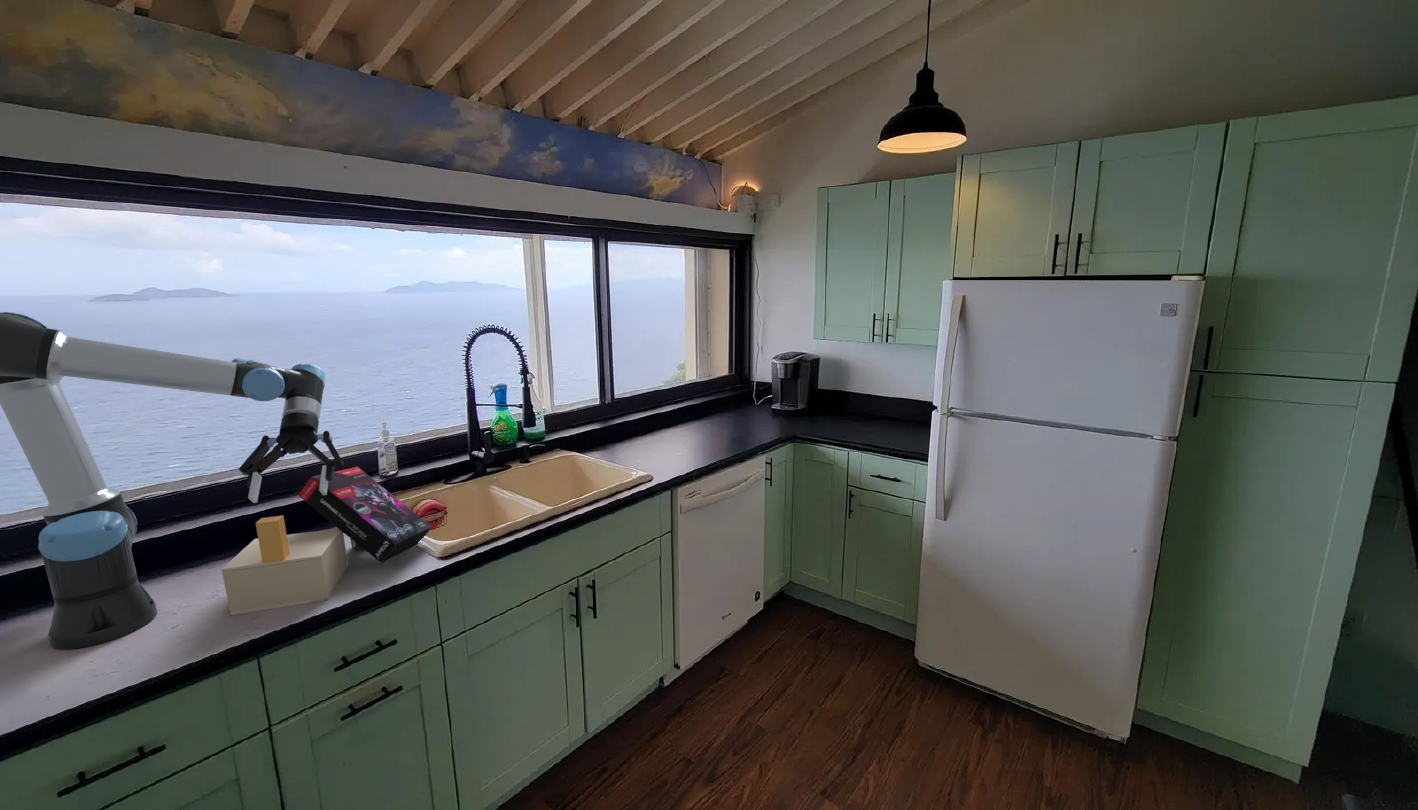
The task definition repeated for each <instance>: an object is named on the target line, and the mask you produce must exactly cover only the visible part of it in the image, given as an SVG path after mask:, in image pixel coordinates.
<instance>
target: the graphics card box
mask: <svg viewBox="0 0 1418 810" xmlns="http://www.w3.org/2000/svg"><path fill="white" fill-rule="evenodd" d="M320 480H321V474H319V475H314V476H311V477H310V478H308V480H306V481H305V483H304V484H303V485H302V486H301V488H299V490H298V491H297V492H296V495H297V496H298V497H299V498H300V499H302V500H303V501H304V502H306V504H308V505H309V506H310V507H312V508H313V509H314V510H315V511H316V512H317V513H318V514H320V515H321V516H323V517H324V518H325V519H326V520H327V521H329V522H330V523H331V524H332V525H334V526H335V528H336V529H340V530H341V531H342V532H343V534H345V535H346V537H349V538H351V539H352V540H353V541H354V542H356V543H357V544H358V545H359V546H360V547H362V548H363V549H364V550H363V551H365V552H367V554H369V555H370V556H371V557H372V558H374V559H375V560H376V561H377V562H379V563H381V564H382V563H385V562H387V561H389V560H390V559H392V558H394V557H396V556H398V555H400V554H403V553H404V552H405V551H407V550H410V549H412V548H414V547H415V546H417V545H419V544H418V542H419V541H420V540H421V539H422V538H423V539H424V538H425V537H424V536H427V534H428V533H429V532H430V530H431V529H432V526H431V525H430V524H429V523H427V522H426V521H425V520H424V519H423V518H421V517H420V516H419V515H418V514H416V513H415V512H414V511H413V510H412V509H410V508H409V506H407V505H405V504H404V503H403V502H402V501H401V500H400V499H398V498H397V497H396V496H395V495H393V494H392V493H391V492H389V491H388V490H387V489H386V488H385V487H383V486H382V485H381V484H380V483H379V482H377V481H376V480H375V479H373V478H372V477H371V476H370V475H368V474H367V473H366V472H365V471H363V469H361V468H360V467H359V466H355V467H351V468H345V469H342V470H337V471H334V476H333V480H331V481H328V488H327V495H322V493H321V492H320V491H319V488H320ZM351 539H350V540H351ZM423 539H422V540H423ZM422 540H421V541H422Z"/></svg>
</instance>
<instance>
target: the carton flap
mask: <svg viewBox="0 0 1418 810" xmlns="http://www.w3.org/2000/svg"><path fill="white" fill-rule="evenodd" d="M284 517H285V516H284V515H277V516H269V517H261V518H260V519H258V520H257V521H256V522H255V528H256V534H257V538H254V539H252V541H251V542H250V543H248V545H246V546H245V547H244V548H242V550H241V551H239V553H238V554H236V556H235V557H233V558H232V559H231V560H230V561H229V562H228V563H226V565H224V567H222V568H221V573H222V572H224V571H231V570H238V569H245V568H253V567H260V566H267V565H275V564H282V563H289V562H296V561H304V560H311V559H318V558H322V557H323V556H324V554H325V553H326V552H327V550H328V549H329V548H330V547H331V545H332V544H333V543H334V541H335V540H336V539H337V537H338V536H339V535H340V533H341V532H342V531H341V530H340V529H338V528H332V529H324V530H323V529H322V530H315V531H309V532H308V531H307V532H299V533H292V534H291V533H290V534H287V531H286V530H287V529H286V522H285V518H284Z"/></svg>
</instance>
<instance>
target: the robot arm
mask: <svg viewBox="0 0 1418 810" xmlns="http://www.w3.org/2000/svg"><path fill="white" fill-rule="evenodd" d="M325 375H326V374H325V372H324V371H323V369H322V368H321V367H319V366H317V365H314V364H311V363H305V364H304V363H298V364H295V365H293V366H292V367H291V368H283V367H279V366H275V365H272V364H271V365H270V364H267V363H262V362H258V361H254V360H251V359H244V358H243V359H242V358H238V357H236V358H233V360H231V361H228V360H220V359H216V358H215V359H214V358H207V357H201V356H195V355H188V354H183V353H175V352H169V351H162V350H156V349H148V348H143V347H137V346H131V345H130V346H129V345H123V344H117V343H111V342H103V341H99V340H98V341H97V340H91V339H85V338H79V337H78V338H77V337H72V336H68V335H67V334H66V333H65V332H64V331H62V330H60V329H56V328H55V329H54V328H48V327H47V326H46V325H45V324H43V323H42V322H40V321H39V320H36V319H35V318H33V317H30V316H27V315H24V314H21V313H16V312H15V313H14V312H8V311H5V312H3V311H2V312H0V408H1V409H2V411H3V413H4V414H5V417H6V420H7V421H8V423H9V425H10V427H11V429H12V431H13V433H14V435H15V437H16V439H17V441H18V443H19V445H20V447H21V449H22V451H23V453H24V456H25V457H26V459H27V462H28V463H29V466H30V468H31V470H32V472H33V474H34V475H35V477H36V479H37V481H38V484H39V486H40V487H41V490H42V491H43V492H42V493H43V494H44V495H45V497H46V500H47V502H48V505H46V507H45V508H44V509H43V511H42V512H41V514H42V516H43V519H44V521H45V523H46V525H47V526H45V527H44V528H43V529H42V530H41V531H40V532H39V534H38V535H39V536H38V550H39V551H38V552H40V554H41V556H42V559H43V564H44V567H45V572H46V575H47V579H48V583H49V588H50V591H51V595H52V598H53V601H54V603H53V604H54V608H53V614H52V618H51V625H50V628H49V630H48V632H47V636H48V640H49V643H50V647H52V648H53V649H57V650H73V649H74V650H75V649H80V648H85V647H91V646H95V645H97V644H101V643H106V642H108V641H112V640H114V639H117V638H120V637H123V636H125V635H128V634H131V633H132V632H134V631H137V630H138V629H140V628H142V627H144V626H145V625H147V624H149V623H150V622H151V621H152V620H154V619H155V617H156V616H157V614H158V610H157V605H156V602H155V600H154V599H153V598H152V597H151V596H150V593H148V592H147V590H146V589H145V588H144V587H143V586H142V584H141V583H140V582H139V580H138V579H139V578H138V574H137V569H136V565H135V561H134V556H133V551H132V546H133V541H134V538H135V536H136V534H137V530H138V527H137V526H138V520H137V517H136V514H135V513H134V512H133V511H132V510H131V509H130V507H129V506H127V505H126V503H125V500H124V498H123V495H122V494H121V492H120V490H118V489H115V488H111V487H109V486H107V484H106V482H105V480H104V478H103V475H102V473H101V471H100V469H99V467H98V465H97V463H96V460H95V458H94V456H93V453H92V451H91V450H90V447H89V445H88V444H87V441H86V437H85V436H84V434H83V432H82V430H81V428H80V425H79V423H78V421H77V419H76V417H75V415H74V412H73V410H72V408H71V406H70V404H69V402H68V400H67V399H68V398H67V397H66V395H65V392H64V390H63V389H62V386H61V383H60V381H61V380H62V379H63V377H71V378H77V379H85V380H86V379H87V380H95V381H96V380H97V381H104V382H105V381H106V382H113V383H121V384H122V383H123V384H128V385H129V384H130V385H140V386H146V387H147V386H149V387H155V388H164V389H171V390H180V391H181V390H182V391H187V392H188V391H190V392H198V393H208V394H216V395H224V396H232V397H236V398H238V397H239V398H246V399H251V400H254V401H257V402H269V401H270V402H271V401H273V400H275V399H278V398H279V399H285V400H284V405H283V406H284V407H283V411H282V414H281V415H282V417H281V421H280V427H279V433H278V435H277V437H269V436H268V435H263V436H262V437H261V440H260V443H259V444H258V445H257V447H256V448H255V449H254V450H253V452H252V453H251V454H250V455H249V456H248V457H247V458H246V460H245V461H244V462H243V463H242V464H241V466H239V468H238V471H240V473H241V474H242V475H244V476H247V479H246V483H245V484H246V487H247V488H248V489H249V491H248V497H247V498H248V499H249V500H250V501H251V503H253V504H256V503H258V499H259V495H260V489H261V484H262V480H263V477H262V476H261V474H262V473H263V472H265V471H266V470H267V469H268V468H270V467H271V466H272V465H273V464H274V463H275V462H277V461H278V460H279V459H280V458H283V457H285V456H286V455H288V454H289V455H293V454H296V453H299V454H305V452H309V453H310V454H312V455H313V456H315V457H316V458H317V459H318V460H319V461H320V462H321V463H323V465H322V467H321V474H320V475H321V480H320V488H319V491H320V492H321V493H322V495H327V488H328V481H331V480H333V476H334V472H335V469H336V468H338V467H339V468H340V467H344V465H345V463H344V461H343V460H342V458H341V456H340V454H339V452H338V451H337V449H336V447H335V446H334V444H333V437H332V434H331V433H330V432H329V431H328V430H324V431H323V433H318V429H319V425H320V424H319V422H320V417H321V416H320V415H321V409H322V401H323V394H324V389H325V385H326V384H325V380H326V379H325ZM318 441H321V443H324V444H325V445H326V447H327V449H328V451H329V452H330V454H331V456H332V457H333V460H332V459H330V458H329V457H328V456H327V455H325V454H324V453H323V451H321V450H320V449H319V448H317V447H316V446H315V444H316V443H318ZM275 444H276V445H275ZM274 445H275V446H274ZM271 448H272V450H271V451H270V449H271Z"/></svg>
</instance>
